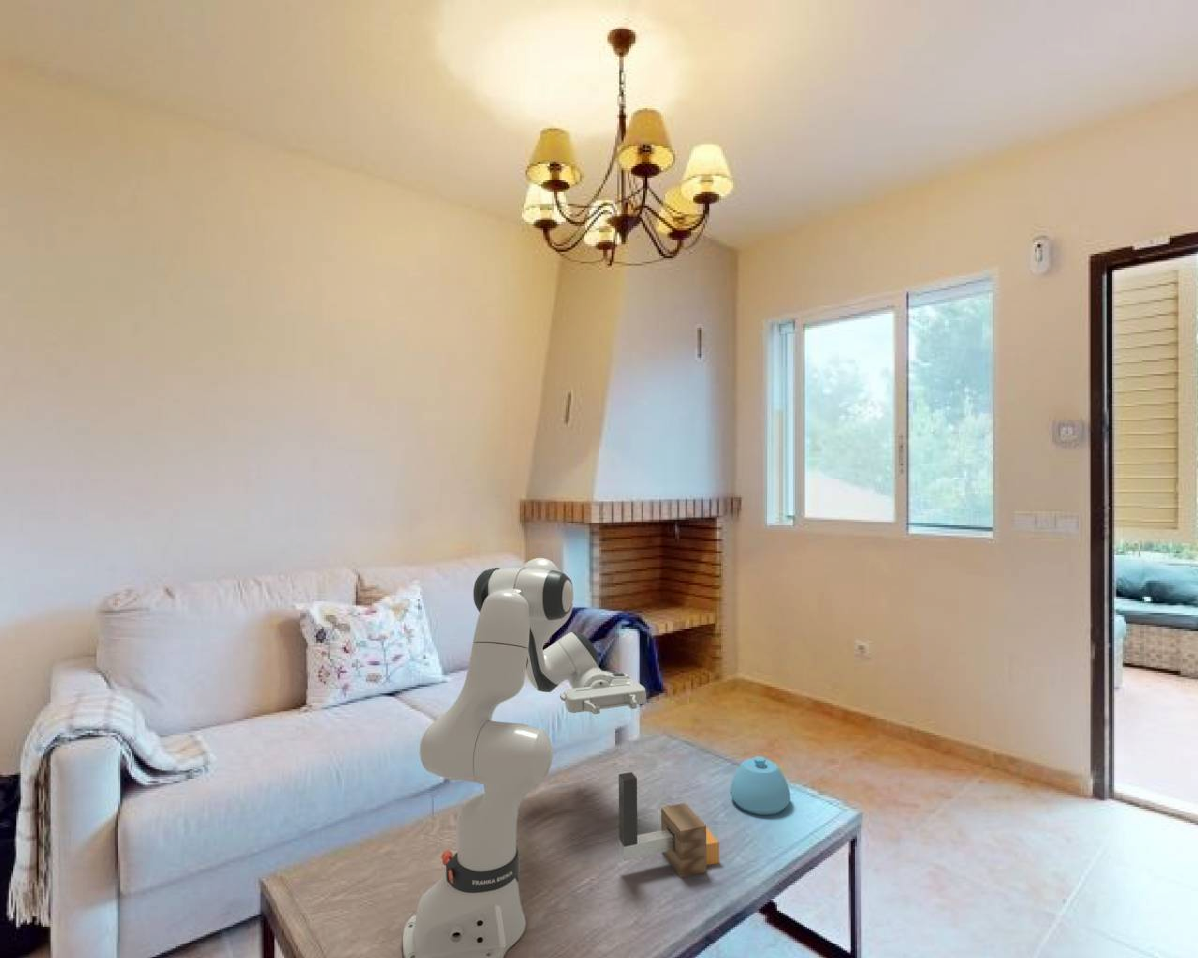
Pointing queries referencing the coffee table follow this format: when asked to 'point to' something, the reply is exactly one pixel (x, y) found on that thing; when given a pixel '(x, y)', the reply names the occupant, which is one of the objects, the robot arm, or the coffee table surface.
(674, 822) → the bearing block
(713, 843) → the block
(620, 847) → the grey l-shaped piece
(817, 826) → the coffee table surface
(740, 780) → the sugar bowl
